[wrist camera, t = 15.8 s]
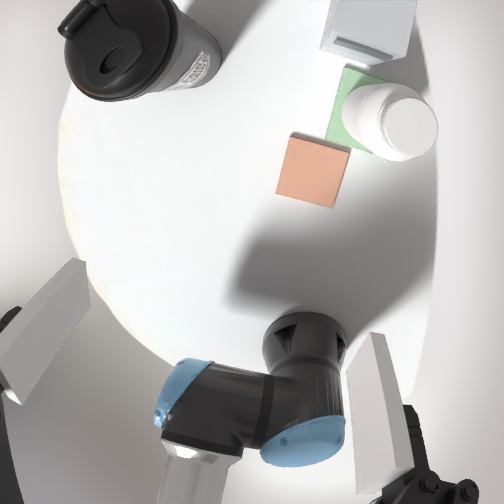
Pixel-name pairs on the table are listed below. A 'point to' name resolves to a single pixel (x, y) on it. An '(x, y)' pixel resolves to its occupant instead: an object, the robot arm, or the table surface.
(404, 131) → the pill bottle
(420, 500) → the robot arm
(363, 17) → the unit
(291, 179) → the terracotta pad
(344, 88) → the green pad
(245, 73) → the table surface
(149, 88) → the water bottle
